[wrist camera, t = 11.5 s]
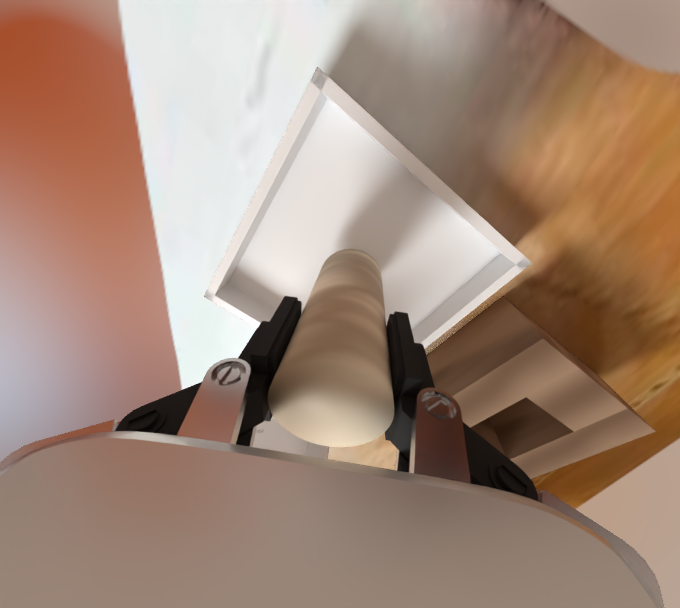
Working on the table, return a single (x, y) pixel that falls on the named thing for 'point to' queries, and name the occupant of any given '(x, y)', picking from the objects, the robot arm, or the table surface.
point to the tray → (359, 223)
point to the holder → (530, 392)
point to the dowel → (338, 359)
